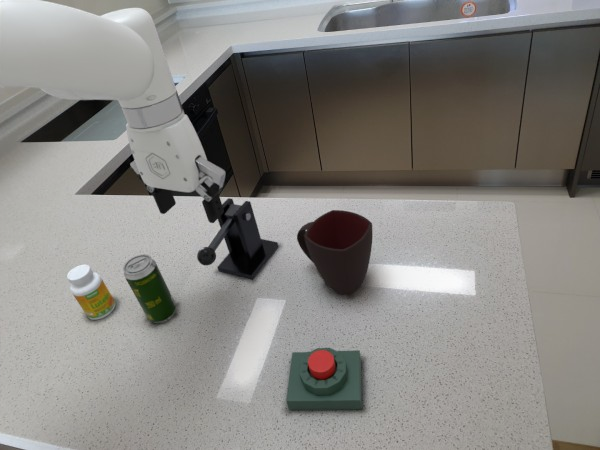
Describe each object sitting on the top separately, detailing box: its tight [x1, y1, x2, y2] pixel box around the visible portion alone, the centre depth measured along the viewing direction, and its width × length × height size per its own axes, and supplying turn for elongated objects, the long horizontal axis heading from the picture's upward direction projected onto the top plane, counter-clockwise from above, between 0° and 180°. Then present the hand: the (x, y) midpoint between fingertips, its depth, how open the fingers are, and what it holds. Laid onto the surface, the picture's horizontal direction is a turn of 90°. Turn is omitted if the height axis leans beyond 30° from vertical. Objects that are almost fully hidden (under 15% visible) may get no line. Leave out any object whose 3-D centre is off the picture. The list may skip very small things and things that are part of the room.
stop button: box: [308, 350, 336, 380], centre depth 63 cm, size 4×4×2 cm
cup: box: [296, 209, 374, 296], centre depth 79 cm, size 10×14×12 cm
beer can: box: [122, 253, 177, 324], centre depth 79 cm, size 5×5×12 cm
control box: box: [285, 347, 363, 411], centre depth 64 cm, size 10×8×4 cm
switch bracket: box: [217, 197, 279, 281], centre depth 87 cm, size 10×8×13 cm
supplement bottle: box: [66, 264, 116, 321], centre depth 84 cm, size 5×5×10 cm
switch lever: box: [196, 203, 242, 266], centre depth 82 cm, size 13×3×3 cm, turn 152°
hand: (192, 213), depth 72 cm, fingers open, 9 cm apart
